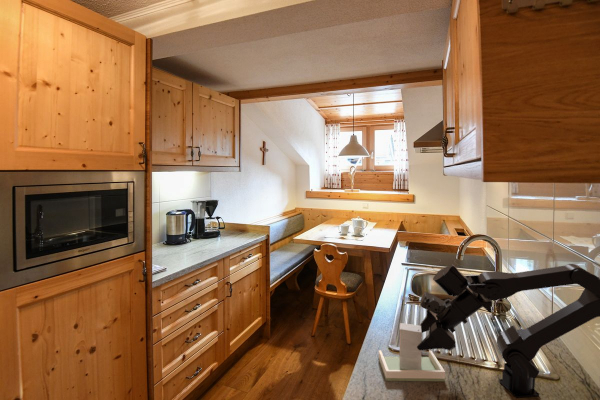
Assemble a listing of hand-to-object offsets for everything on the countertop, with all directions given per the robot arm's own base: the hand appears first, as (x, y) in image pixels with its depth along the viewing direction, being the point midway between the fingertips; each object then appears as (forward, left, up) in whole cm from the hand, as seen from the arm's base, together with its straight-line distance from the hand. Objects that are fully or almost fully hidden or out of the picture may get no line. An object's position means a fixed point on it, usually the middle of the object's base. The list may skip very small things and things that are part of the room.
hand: (417, 340), depth 91 cm
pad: (+2, -1, -9) cm, 9 cm away
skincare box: (+2, -1, -9) cm, 9 cm away
